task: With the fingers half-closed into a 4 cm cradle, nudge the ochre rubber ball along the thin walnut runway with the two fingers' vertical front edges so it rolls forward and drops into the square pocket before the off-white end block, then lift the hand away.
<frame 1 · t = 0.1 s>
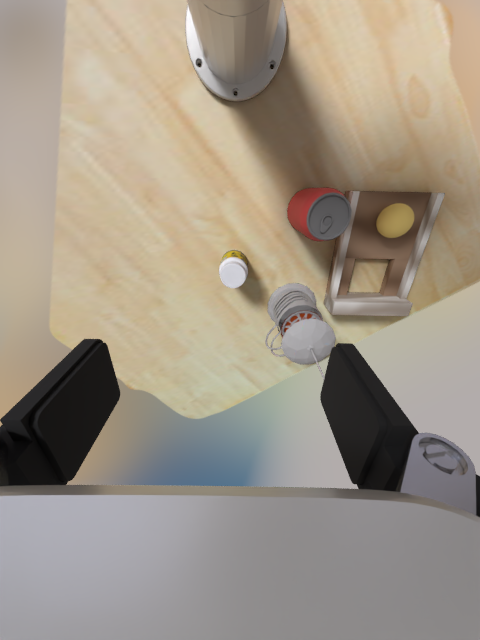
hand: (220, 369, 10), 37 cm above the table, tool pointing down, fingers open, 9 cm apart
french press: (287, 308, 50), on the table
ball: (394, 221, 38), point 4 cm above the table, touching runway
supplement bottle: (234, 261, 45), on the table
runway: (371, 253, 44), on the table
beer can: (305, 210, 41), on the table
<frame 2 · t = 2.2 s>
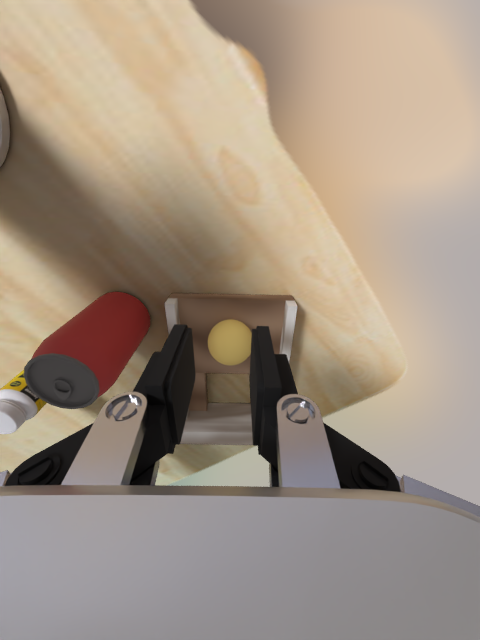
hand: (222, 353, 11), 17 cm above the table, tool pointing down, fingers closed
ball: (230, 342, 27), point 4 cm above the table, touching runway
supplement bottle: (51, 370, 34), on the table
runway: (231, 363, 33), on the table
beer can: (125, 314, 30), on the table
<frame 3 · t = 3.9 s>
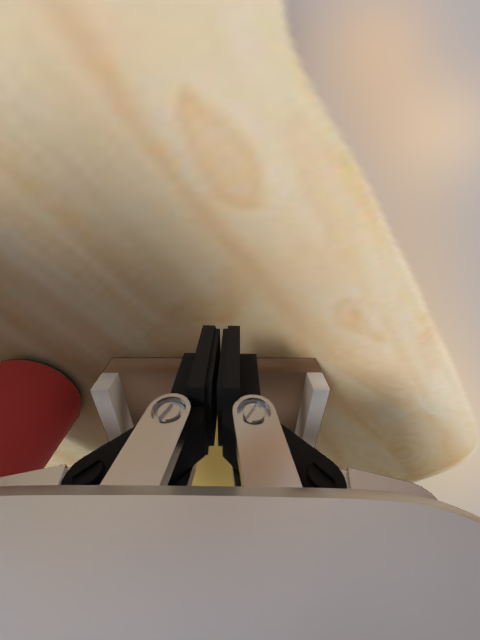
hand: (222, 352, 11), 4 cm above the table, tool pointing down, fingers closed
ball: (213, 448, 15), point 4 cm above the table, touching runway
runway: (218, 448, 22), on the table
beer can: (40, 388, 18), on the table
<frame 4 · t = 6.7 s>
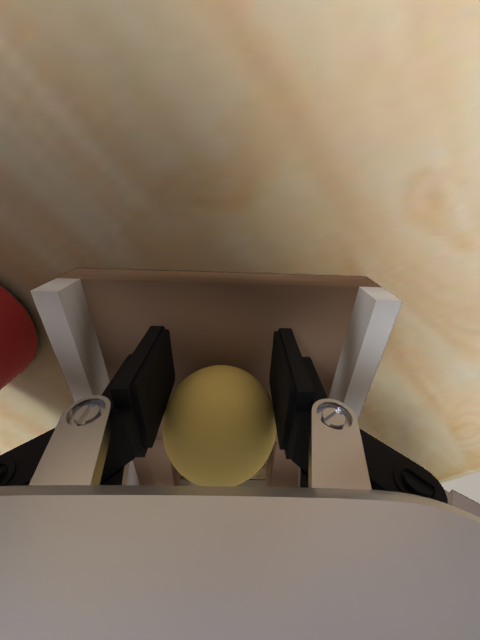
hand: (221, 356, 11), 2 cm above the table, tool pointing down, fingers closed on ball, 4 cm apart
ball: (220, 421, 11), point 4 cm above the table, tilted 21°, touching gripper
runway: (223, 415, 17), on the table
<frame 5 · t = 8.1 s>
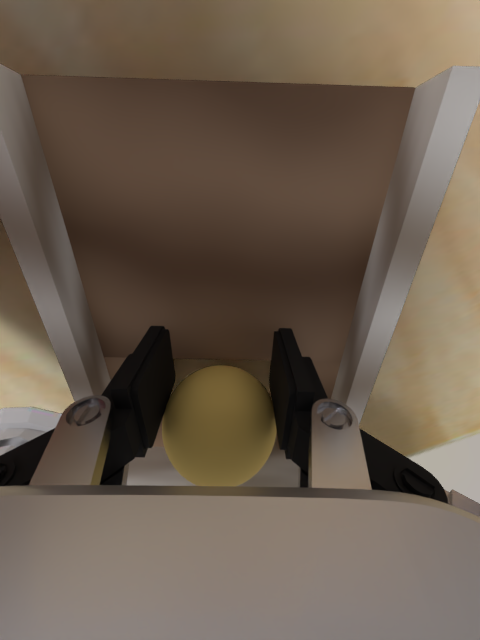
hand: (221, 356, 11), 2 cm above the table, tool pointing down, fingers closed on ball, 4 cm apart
french press: (42, 455, 19), on the table
ball: (220, 421, 11), point 4 cm above the table, tilted 22°, touching gripper
runway: (224, 335, 13), on the table
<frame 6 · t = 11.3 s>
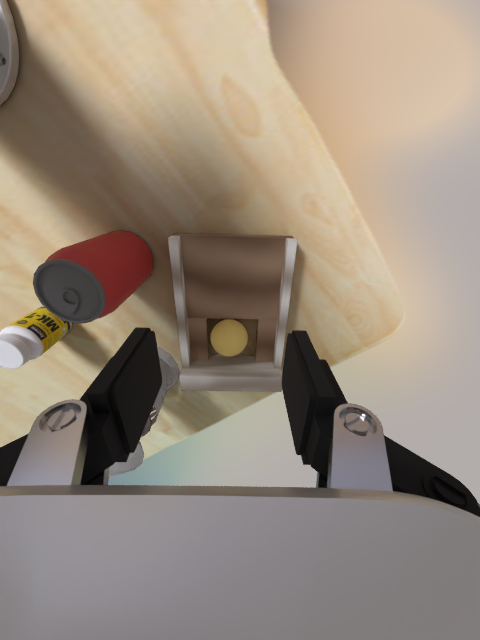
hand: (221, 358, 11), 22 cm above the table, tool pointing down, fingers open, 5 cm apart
french press: (144, 371, 39), on the table
ball: (229, 337, 33), point 2 cm above the table, tilted 74°
supplement bottle: (56, 319, 35), on the table
runway: (232, 310, 34), on the table
beer can: (129, 257, 31), on the table
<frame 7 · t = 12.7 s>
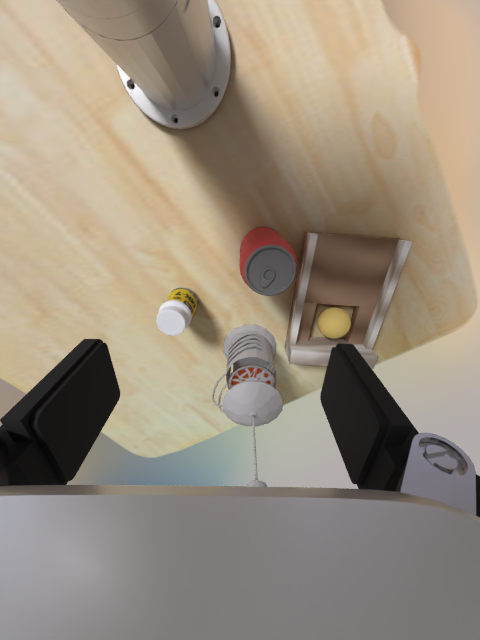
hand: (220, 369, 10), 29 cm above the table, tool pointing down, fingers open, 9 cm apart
french press: (245, 349, 45), on the table
ball: (333, 322, 40), point 2 cm above the table, tilted 83°
supplement bottle: (184, 299, 41), on the table
runway: (335, 298, 40), on the table
beer can: (261, 249, 37), on the table
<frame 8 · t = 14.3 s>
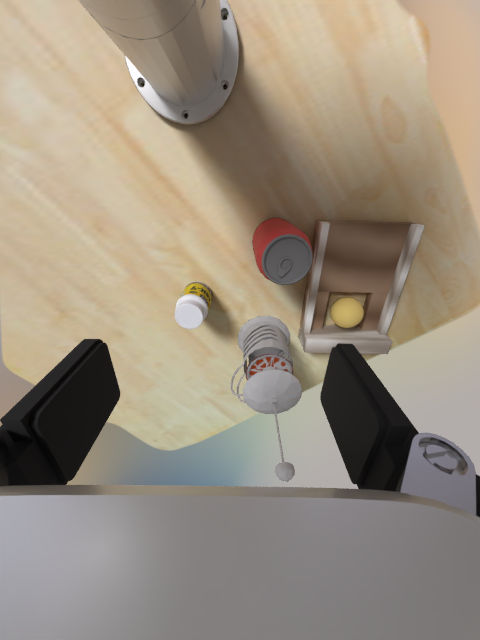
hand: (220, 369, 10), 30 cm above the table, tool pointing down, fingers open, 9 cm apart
french press: (259, 340, 46), on the table
ball: (346, 312, 40), point 2 cm above the table, tilted 93°
supplement bottle: (198, 293, 41), on the table
runway: (348, 286, 41), on the table
beer can: (273, 240, 37), on the table
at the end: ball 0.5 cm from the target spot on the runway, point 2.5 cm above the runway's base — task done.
